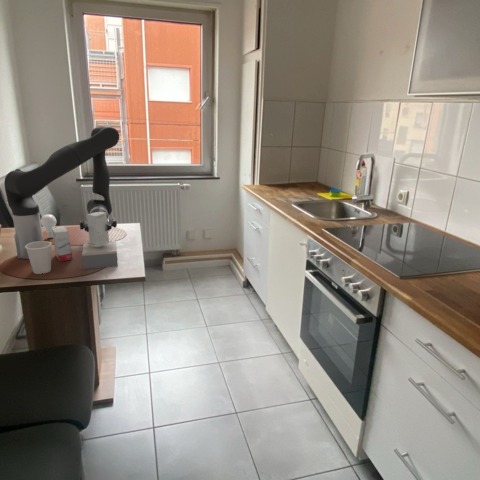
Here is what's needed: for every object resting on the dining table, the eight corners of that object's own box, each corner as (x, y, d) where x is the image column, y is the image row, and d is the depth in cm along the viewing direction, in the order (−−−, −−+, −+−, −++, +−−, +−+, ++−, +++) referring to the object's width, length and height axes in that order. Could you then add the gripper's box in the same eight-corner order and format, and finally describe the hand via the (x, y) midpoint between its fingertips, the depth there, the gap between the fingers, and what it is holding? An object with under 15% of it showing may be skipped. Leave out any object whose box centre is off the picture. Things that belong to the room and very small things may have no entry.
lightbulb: (39, 239, 170) (36, 215, 167) (50, 235, 176) (47, 212, 172) (51, 240, 168) (47, 216, 165) (61, 236, 174) (58, 213, 171)
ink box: (72, 260, 147) (69, 231, 144) (58, 262, 145) (54, 233, 141) (68, 253, 154) (65, 225, 150) (54, 255, 151) (51, 227, 148)
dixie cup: (35, 266, 140) (31, 240, 137) (58, 266, 141) (55, 240, 138) (24, 275, 132) (20, 248, 129) (49, 275, 133) (45, 248, 130)
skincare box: (98, 247, 141) (95, 216, 137) (89, 245, 143) (85, 214, 139) (110, 242, 146) (107, 212, 142) (100, 241, 148) (98, 210, 144)
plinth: (83, 269, 139) (81, 253, 137) (85, 257, 150) (83, 243, 148) (117, 266, 143) (116, 251, 141) (117, 255, 154) (115, 241, 152)
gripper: (79, 209, 153) (76, 220, 138) (116, 207, 157) (117, 218, 142) (81, 227, 155) (78, 239, 140) (117, 224, 159) (119, 236, 145)
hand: (98, 228), depth 141 cm, fingers closed on skincare box, 7 cm apart
